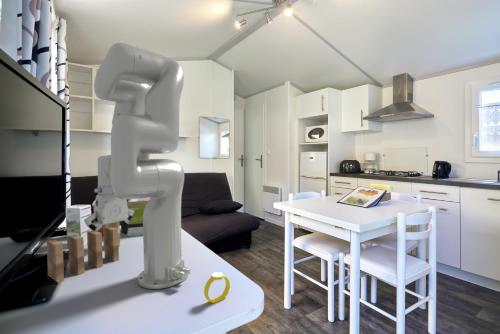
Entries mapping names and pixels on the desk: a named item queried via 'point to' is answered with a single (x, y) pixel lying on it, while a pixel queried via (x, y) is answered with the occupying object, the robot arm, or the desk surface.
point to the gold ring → (213, 277)
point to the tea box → (136, 216)
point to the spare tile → (114, 225)
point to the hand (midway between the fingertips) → (111, 237)
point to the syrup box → (77, 221)
